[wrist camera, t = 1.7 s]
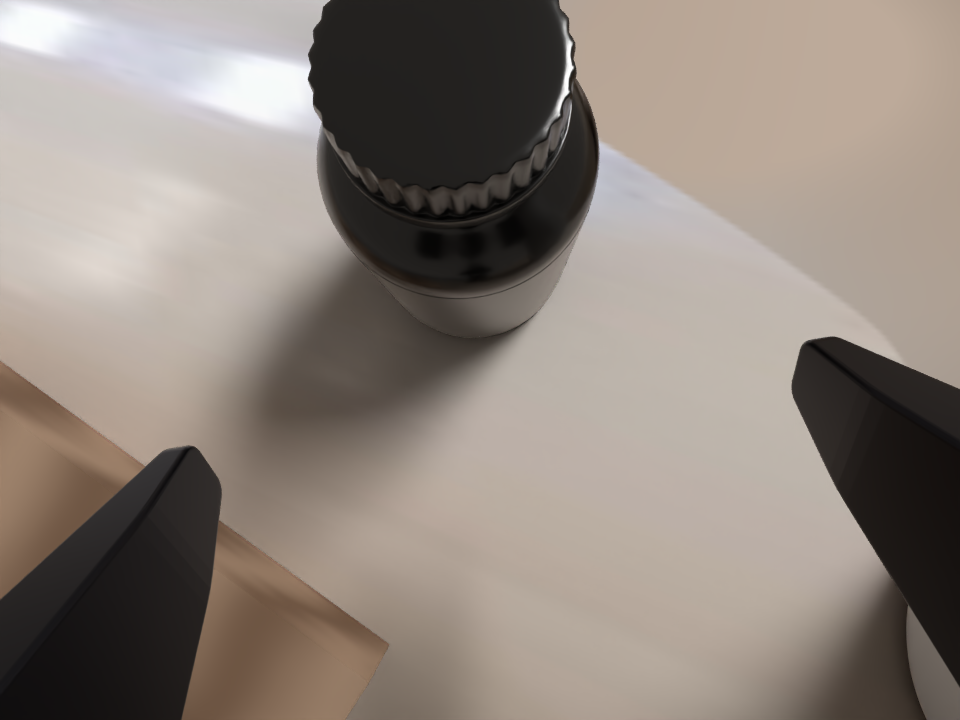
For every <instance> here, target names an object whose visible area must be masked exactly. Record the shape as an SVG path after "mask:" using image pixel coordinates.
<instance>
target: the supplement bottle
mask: <svg viewBox="0 0 960 720" xmlns="http://www.w3.org/2000/svg"><path fill="white" fill-rule="evenodd" d="M313 38H314V43H313V45H312V47H311V49H310V51H309V53H308V57H309V61H310V64H311V70H310V73H309V77H308V82H309V85H310V87H311V89H312V91H313V107H314V110H315V112H316V113H317V115H318V117H319V118H320V120H321V121H322V123H321V127H320V131H319V138H318V144H317V173H318V180H319V186H320V190H321V194H322V198H323V201H324V204H325V207H326V209H327V212H328V214H329V216H330V218H331V220H332V222H333V224H334V226H335V228H336V229H337V231H338V232H339V234H340V236H341V237H342V239H343V240H344V242H345V243H346V244H347V246H348V247H349V248H350V249H351V251H352V252H353V253H354V254H355V255H356V256H357V258H358V259H359V260H360V261H361V262H362V263H363V264H364V265H365V266H366V267H367V268H368V269H369V271H370V272H371V273H372V274H373V275H374V276H375V277H376V278H377V279H378V280H379V281H380V282H381V283H382V285H383V286H384V287H385V288H386V289H387V290H388V291H389V292H390V293H391V294H392V295H393V296H394V298H395V299H396V300H397V301H398V302H399V303H400V304H401V305H402V306H403V307H404V308H405V309H406V310H407V311H408V312H409V313H410V314H411V315H413V316H414V317H415V318H416V319H418V320H419V321H420V322H422V323H423V324H425V325H427V326H429V327H430V328H432V329H435V330H437V331H439V332H442V333H445V334H448V335H452V336H457V337H465V338H480V337H488V336H494V335H497V334H501V333H504V332H506V331H509V330H511V329H513V328H515V327H517V326H519V325H520V324H522V323H524V322H525V321H527V320H528V319H529V318H530V317H532V316H533V315H534V314H535V313H536V312H537V311H538V310H539V309H540V308H541V307H542V306H543V305H544V304H545V302H546V301H547V300H548V298H549V297H550V296H551V294H552V292H553V290H554V289H555V287H556V285H557V283H558V281H559V279H560V277H561V274H562V272H563V270H564V267H565V265H566V263H567V260H568V258H569V256H570V253H571V251H572V249H573V246H574V244H575V242H576V239H577V237H578V234H579V232H580V230H581V227H582V225H583V223H584V220H585V218H586V216H587V213H588V211H589V208H590V205H591V202H592V199H593V195H594V191H595V187H596V182H597V178H598V170H599V140H598V133H597V128H596V123H595V119H594V116H593V112H592V109H591V106H590V104H589V102H588V99H587V97H586V95H585V93H584V91H583V89H582V88H581V86H580V84H579V82H578V81H577V79H576V66H575V62H574V60H573V59H574V54H575V42H574V40H573V38H572V36H571V35H570V33H569V18H568V17H567V15H566V14H565V13H564V12H563V11H562V10H561V9H560V6H559V0H330V1H329V2H328V3H327V4H326V5H325V6H324V7H323V11H322V18H321V20H320V22H319V23H318V24H317V25H316V27H315V28H314V30H313Z"/></svg>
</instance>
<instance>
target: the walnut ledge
mask: <svg viewBox="0 0 960 720" xmlns="http://www.w3.org/2000/svg"><path fill="white" fill-rule="evenodd" d="M143 468H145V466H144V465H142V464H141V463H140V462H138V461H137V460H135V459H134V458H133V457H131V456H130V455H129V454H127V453H126V452H124V451H123V450H122V449H120V448H119V447H118V446H116V445H115V444H113V443H112V442H111V441H109V440H108V439H107V438H105V437H104V436H102V435H101V434H100V433H98V432H97V431H96V430H94V429H93V428H91V427H90V426H89V425H87V424H86V423H85V422H83V421H82V420H81V419H79V418H78V417H76V416H75V415H74V414H72V413H71V412H70V411H68V410H67V409H65V408H64V407H63V406H61V405H60V404H59V403H57V402H56V401H54V400H53V399H52V398H50V397H49V396H48V395H46V394H45V393H43V392H42V391H41V390H39V389H38V388H37V387H35V386H34V385H32V384H31V383H30V382H28V381H27V380H26V379H24V378H23V377H21V376H20V375H19V374H17V373H16V372H15V371H13V370H12V369H11V368H9V367H8V366H6V365H5V364H4V363H2V362H1V361H0V599H1V598H2V597H3V596H4V595H5V594H7V593H8V592H9V591H10V590H11V589H12V588H13V587H14V586H15V585H16V584H17V583H19V582H20V581H21V580H22V579H23V578H24V577H25V576H26V575H27V574H28V573H30V572H31V571H32V570H33V569H34V568H35V567H36V566H37V565H38V564H39V563H40V562H42V561H43V560H44V559H45V558H46V557H47V556H48V555H49V554H50V553H51V552H53V551H54V550H55V549H56V548H57V547H58V546H59V545H60V544H61V543H62V542H63V541H65V540H66V539H67V538H68V537H69V536H70V535H71V534H72V533H73V532H74V531H76V530H77V529H78V528H79V527H80V526H81V525H82V524H83V523H84V522H85V521H87V520H88V519H89V518H90V517H91V516H92V515H93V514H94V513H95V512H96V511H97V510H99V509H100V508H101V507H102V506H103V505H104V504H105V503H106V502H107V501H108V500H110V499H111V498H112V497H113V496H114V495H115V494H116V493H117V492H118V491H119V490H120V489H122V488H123V487H124V486H125V485H126V484H127V483H128V482H129V481H130V480H131V479H132V478H134V477H135V476H136V475H137V474H138V473H139V472H140V471H141V470H142V469H143ZM388 646H389V644H388V643H387V642H385V641H384V640H383V639H381V638H380V637H378V636H377V635H376V634H374V633H373V632H372V631H370V630H369V629H367V628H366V627H365V626H363V625H362V624H361V623H359V622H358V621H356V620H355V619H354V618H352V617H351V616H350V615H348V614H347V613H345V612H344V611H343V610H341V609H340V608H339V607H337V606H336V605H334V604H333V603H332V602H330V601H329V600H328V599H326V598H325V597H323V596H322V595H321V594H319V593H318V592H317V591H315V590H314V589H313V588H311V587H310V586H308V585H307V584H306V583H304V582H303V581H302V580H300V579H299V578H297V577H296V576H295V575H293V574H292V573H291V572H289V571H288V570H286V569H285V568H284V567H282V566H281V565H280V564H278V563H277V562H275V561H274V560H273V559H271V558H270V557H269V556H267V555H266V554H264V553H263V552H262V551H260V550H259V549H258V548H256V547H255V546H253V545H252V544H251V543H249V542H248V541H247V540H245V539H244V538H242V537H241V536H240V535H238V534H237V533H236V532H234V531H233V530H232V529H230V528H229V527H227V526H226V525H225V524H223V523H222V522H221V521H219V524H218V533H217V542H216V551H215V560H214V569H213V577H212V584H211V590H210V595H209V600H208V605H207V609H206V614H205V618H204V623H203V627H202V632H201V636H200V640H199V645H198V649H197V654H196V658H195V663H194V667H193V671H192V676H191V680H190V685H189V689H188V694H187V698H186V702H185V707H184V711H183V716H182V720H345V719H346V717H347V716H348V714H349V713H350V711H351V710H352V708H353V707H354V705H355V703H356V702H357V700H358V699H359V697H360V696H361V694H362V693H363V691H364V690H365V688H366V687H367V685H368V683H369V682H370V680H371V678H372V676H373V674H374V672H375V671H376V669H377V667H378V665H379V663H380V661H381V659H382V657H383V656H384V654H385V652H386V650H387V648H388Z"/></svg>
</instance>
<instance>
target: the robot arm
mask: <svg viewBox="0 0 960 720" xmlns="http://www.w3.org/2000/svg"><path fill="white" fill-rule="evenodd" d="M792 394H793V398H794V400H795V403H796V405H797V407H798V409H799V411H800V413H801V415H802V417H803V420H804V422H805V424H806V426H807V428H808V430H809V432H810V434H811V437H812V439H813V441H814V443H815V445H816V447H817V449H818V451H819V453H820V456H821V458H822V460H823V462H824V464H825V466H826V468H827V470H828V473H829V475H830V477H831V478H832V480H833V482H834V484H835V486H836V488H837V490H838V492H839V493H840V495H841V497H842V498H843V500H844V502H845V504H846V505H847V507H848V508H849V510H850V512H851V513H852V515H853V516H854V518H855V520H856V521H857V523H858V524H859V526H860V528H861V529H862V531H863V533H864V534H865V536H866V537H867V539H868V541H869V542H870V544H871V545H872V547H873V549H874V550H875V552H876V554H877V555H878V557H879V558H880V560H881V562H882V563H883V565H884V566H885V568H886V570H887V571H888V573H889V575H890V576H891V578H892V579H893V581H894V583H895V584H896V586H897V587H898V589H899V591H900V592H901V594H902V596H903V597H904V599H905V600H906V602H907V604H908V605H909V607H910V608H911V610H912V612H913V613H914V615H915V616H916V618H917V620H918V621H919V623H920V625H921V626H922V628H923V629H924V631H925V633H926V634H927V636H928V637H929V639H930V641H931V642H932V644H933V646H934V647H935V649H936V650H937V652H938V654H939V655H940V657H941V658H942V660H943V662H944V663H945V665H946V667H947V668H948V670H949V671H950V673H951V675H952V676H953V678H954V679H955V681H956V683H957V684H958V686H959V687H960V389H958V388H956V387H953V386H951V385H949V384H946V383H944V382H942V381H939V380H937V379H935V378H932V377H930V376H928V375H925V374H923V373H921V372H918V371H916V370H914V369H911V368H909V367H907V366H904V365H902V364H900V363H897V362H895V361H893V360H890V359H888V358H886V357H883V356H881V355H879V354H876V353H874V352H872V351H869V350H867V349H865V348H862V347H860V346H858V345H855V344H853V343H851V342H848V341H846V340H844V339H841V338H838V337H824V338H818V339H812V340H808V341H806V342H805V343H804V344H803V345H802V346H801V348H800V352H799V356H798V359H797V363H796V367H795V371H794V375H793V379H792ZM221 497H222V489H221V484H220V481H219V479H218V477H217V476H216V474H215V473H214V471H213V470H212V468H211V467H210V466H209V464H208V463H207V461H206V460H205V458H204V457H203V455H202V454H201V452H200V451H199V450H198V449H197V448H196V447H194V446H189V445H188V446H182V447H176V448H170V449H167V450H164V451H162V452H161V453H160V454H159V455H158V456H157V457H155V458H154V459H153V460H152V461H151V462H150V463H149V464H148V465H147V466H146V467H145V468H143V469H142V470H141V471H140V472H139V473H138V474H137V475H136V476H135V477H134V478H132V479H131V480H130V481H129V482H128V483H127V484H126V485H125V486H124V487H123V488H122V489H120V490H119V491H118V492H117V493H116V494H115V495H114V496H113V497H112V498H111V499H110V500H108V501H107V502H106V503H105V504H104V505H103V506H102V507H101V508H100V509H99V510H97V511H96V512H95V513H94V514H93V515H92V516H91V517H90V518H89V519H88V520H87V521H85V522H84V523H83V524H82V525H81V526H80V527H79V528H78V529H77V530H76V531H74V532H73V533H72V534H71V535H70V536H69V537H68V538H67V539H66V540H65V541H63V542H62V543H61V544H60V545H59V546H58V547H57V548H56V549H55V550H54V551H53V552H51V553H50V554H49V555H48V556H47V557H46V558H45V559H44V560H43V561H42V562H40V563H39V564H38V565H37V566H36V567H35V568H34V569H33V570H32V571H31V572H30V573H28V574H27V575H26V576H25V577H24V578H23V579H22V580H21V581H20V582H19V583H17V584H16V585H15V586H14V587H13V588H12V589H11V590H10V591H9V592H8V593H7V594H5V595H4V596H3V597H2V598H1V599H0V720H182V716H183V711H184V707H185V702H186V698H187V694H188V689H189V685H190V680H191V676H192V671H193V667H194V663H195V658H196V654H197V649H198V645H199V640H200V636H201V632H202V627H203V623H204V618H205V614H206V609H207V605H208V600H209V595H210V590H211V584H212V577H213V569H214V560H215V551H216V542H217V533H218V524H219V515H220V506H221Z"/></svg>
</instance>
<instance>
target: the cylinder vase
mask: <svg viewBox="0 0 960 720" xmlns="http://www.w3.org/2000/svg"><path fill="white" fill-rule="evenodd" d="M906 639H907V652H908V660H909V666H910V671H911V676H912V680H913V684H914V687H915V691H916V694H917V697H918V700H919V703H920V705H921V708H922V710H923V713H924V715H925V717H926V720H960V687H959V686H958V684H957V683H956V681H955V679H954V678H953V676H952V675H951V673H950V671H949V670H948V668H947V667H946V665H945V663H944V662H943V660H942V658H941V657H940V655H939V654H938V652H937V650H936V649H935V647H934V646H933V644H932V642H931V641H930V639H929V637H928V636H927V634H926V633H925V631H924V629H923V628H922V626H921V625H920V623H919V621H918V620H917V618H916V616H915V615H914V613H913V612H912V610H911V608H910V607H909V605H908V610H907V623H906Z"/></svg>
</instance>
